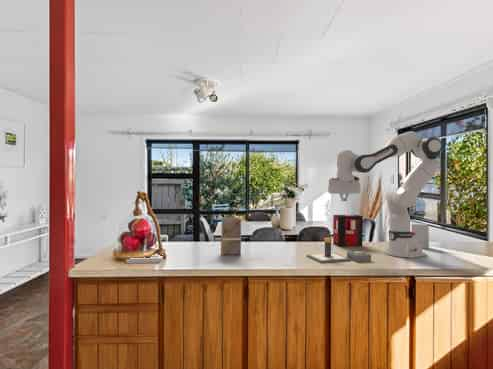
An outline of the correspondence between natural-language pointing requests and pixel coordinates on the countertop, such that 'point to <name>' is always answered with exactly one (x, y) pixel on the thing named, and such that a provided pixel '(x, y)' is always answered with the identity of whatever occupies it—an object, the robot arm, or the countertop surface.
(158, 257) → the holder
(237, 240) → the brown tall block
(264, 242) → the countertop surface
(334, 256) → the drawing board
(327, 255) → the marker
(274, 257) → the countertop surface
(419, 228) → the skincare box
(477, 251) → the countertop surface
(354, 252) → the button
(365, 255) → the button housing
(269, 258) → the countertop surface
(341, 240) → the cleaning product box
